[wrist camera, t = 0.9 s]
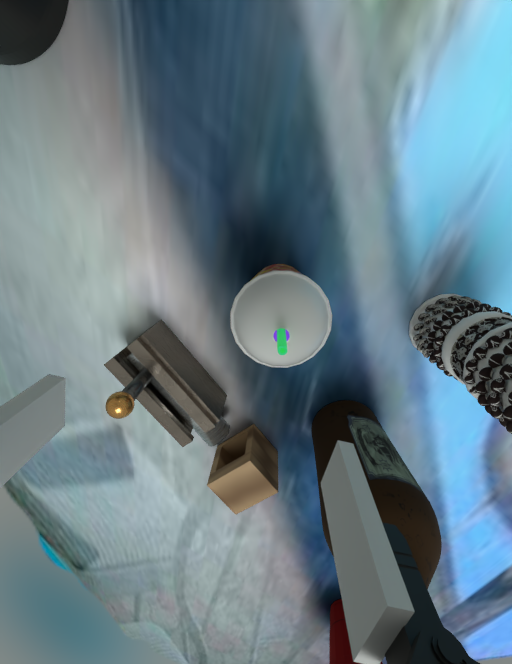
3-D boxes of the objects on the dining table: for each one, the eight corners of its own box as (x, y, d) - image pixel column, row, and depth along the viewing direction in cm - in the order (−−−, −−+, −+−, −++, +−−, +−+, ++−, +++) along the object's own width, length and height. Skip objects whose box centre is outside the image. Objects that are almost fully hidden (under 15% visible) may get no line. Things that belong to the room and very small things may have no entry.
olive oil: (353, 468, 46) (436, 721, 22) (293, 437, 45) (314, 669, 21) (397, 417, 43) (549, 650, 19) (333, 382, 41) (412, 585, 18)
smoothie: (325, 297, 38) (375, 365, 19) (270, 333, 40) (267, 428, 21) (287, 241, 36) (301, 254, 17) (232, 282, 38) (189, 335, 19)
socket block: (217, 446, 46) (207, 485, 39) (253, 423, 44) (249, 460, 37) (241, 471, 47) (235, 514, 40) (277, 451, 46) (278, 492, 39)
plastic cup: (324, 582, 54) (338, 676, 43) (382, 595, 55) (411, 691, 43) (308, 619, 58) (316, 714, 47) (362, 631, 58) (384, 728, 47)
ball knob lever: (135, 349, 40) (77, 399, 28) (155, 334, 39) (104, 379, 27) (211, 432, 44) (187, 507, 32) (231, 420, 43) (215, 492, 31)
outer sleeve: (127, 345, 41) (100, 367, 35) (161, 319, 40) (139, 336, 34) (193, 417, 45) (179, 448, 38) (226, 395, 43) (218, 424, 37)
